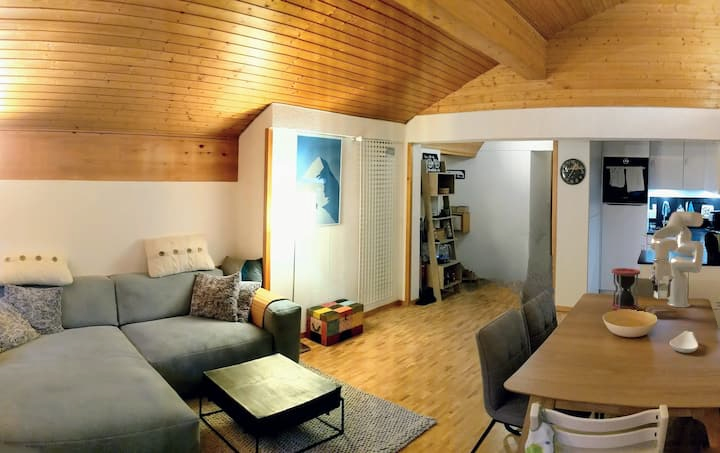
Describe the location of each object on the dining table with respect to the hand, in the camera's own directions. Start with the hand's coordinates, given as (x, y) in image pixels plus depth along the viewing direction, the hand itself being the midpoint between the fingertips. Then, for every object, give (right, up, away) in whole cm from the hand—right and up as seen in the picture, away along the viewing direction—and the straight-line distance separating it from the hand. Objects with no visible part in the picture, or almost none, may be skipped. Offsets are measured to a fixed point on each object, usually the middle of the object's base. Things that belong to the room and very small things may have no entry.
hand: (660, 290), depth 315 cm
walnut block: (0, -16, +1) cm, 16 cm away
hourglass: (-12, -14, +20) cm, 27 cm away
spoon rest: (-20, -22, -56) cm, 63 cm away
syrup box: (0, -5, 0) cm, 5 cm away
